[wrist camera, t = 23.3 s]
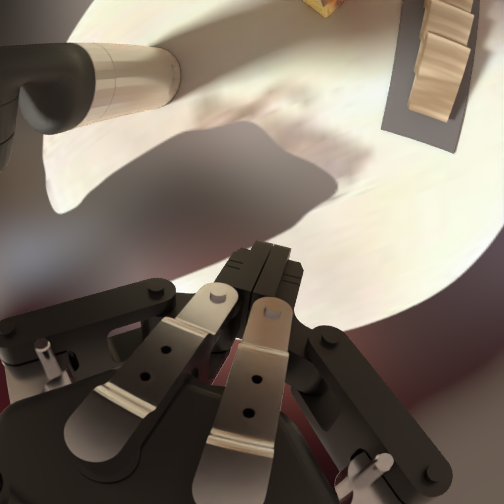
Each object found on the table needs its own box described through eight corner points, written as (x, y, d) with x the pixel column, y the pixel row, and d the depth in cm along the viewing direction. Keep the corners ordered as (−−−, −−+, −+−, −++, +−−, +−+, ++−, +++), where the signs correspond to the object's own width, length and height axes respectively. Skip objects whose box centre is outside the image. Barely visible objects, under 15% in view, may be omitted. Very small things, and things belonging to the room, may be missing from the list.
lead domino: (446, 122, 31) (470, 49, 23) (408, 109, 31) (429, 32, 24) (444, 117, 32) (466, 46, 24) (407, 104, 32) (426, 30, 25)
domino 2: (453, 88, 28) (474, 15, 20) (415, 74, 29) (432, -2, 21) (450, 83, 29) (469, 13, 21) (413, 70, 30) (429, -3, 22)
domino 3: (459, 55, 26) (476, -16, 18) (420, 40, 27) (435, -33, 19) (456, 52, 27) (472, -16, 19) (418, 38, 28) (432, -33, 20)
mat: (380, 128, 35) (381, 129, 35) (405, -28, 24) (406, -29, 24) (452, 152, 34) (453, 153, 33) (478, 0, 22) (479, 0, 22)
